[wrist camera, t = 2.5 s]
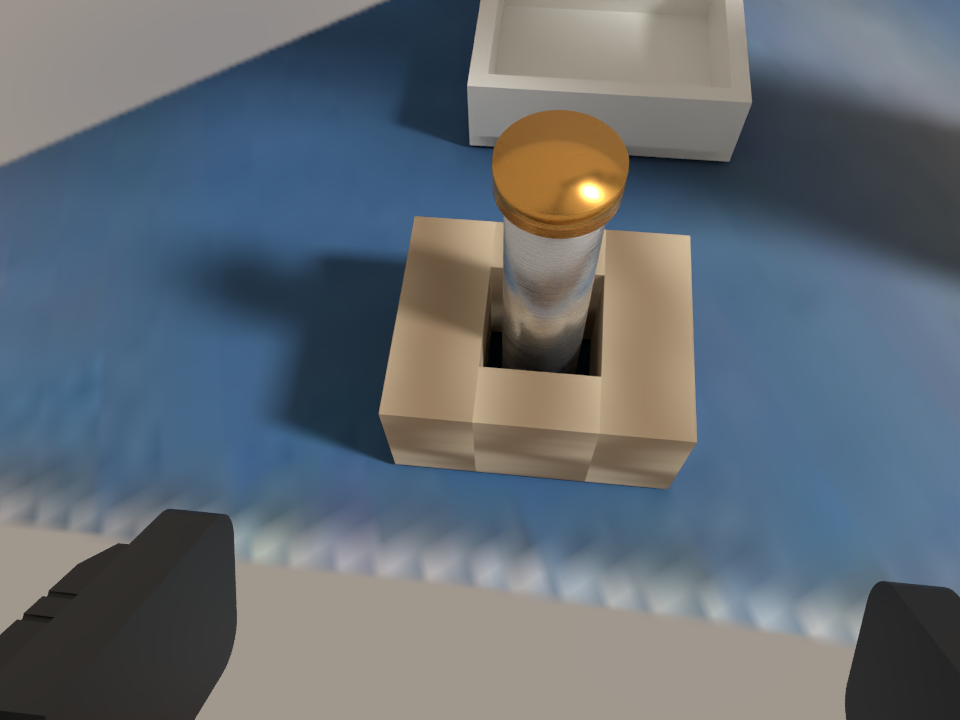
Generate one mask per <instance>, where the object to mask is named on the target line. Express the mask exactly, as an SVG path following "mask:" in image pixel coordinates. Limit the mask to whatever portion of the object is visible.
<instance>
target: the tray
mask: <svg viewBox="0 0 960 720" xmlns="http://www.w3.org/2000/svg"><path fill="white" fill-rule="evenodd" d="M467 94H468V117H469V140H470V145H477V146H493V147H495V145H496V142H497V140H498V139H499V137H500V136H501V134H502V133H503V132H504V131H505V130H506V129H507V128H508V127H509V126H510V125H512V124H513V123H514V122H516V121H518V120H519V119H521V118H523V117H526V116H528V115H530V114H534V113H537V112H542V111H548V110H568V111H575V112H580V113H584V114H587V115H590V116H592V117H594V118H597V119H599V120H600V121H602V122H604V123H605V124H607V125H608V126H610V127H611V128H612V129H613V130H614V131H615V132H616V133H617V134H618V135H619V137H620V138H621V139H622V141H623V143H624V144H625V147H626V149H627V152H628V155H633V156H649V157H665V158H680V159H696V160H711V161H727V162H730V159H731V156H732V154H733V151H734V149H735V146H736V143H737V141H738V138H739V136H740V133H741V130H742V128H743V125H744V123H745V120H746V117H747V115H748V112H749V110H750V107H751V104H752V95H751V84H750V73H749V62H748V51H747V40H746V29H745V18H744V7H743V0H481V2H480V8H479V14H478V21H477V27H476V33H475V40H474V46H473V52H472V58H471V65H470V71H469V77H468V84H467Z"/></svg>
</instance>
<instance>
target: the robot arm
mask: <svg viewBox="0 0 960 720" xmlns="http://www.w3.org/2000/svg"><path fill="white" fill-rule="evenodd" d="M236 626H237V610H236V581H235V554H234V531H233V525H232V522H231V519H230V518H229V516H228V515H226V514H218V513H208V512H198V511H188V510H178V509H167V510H165V511H163V512H162V513H161V514H160V515H159V516H158V517H157V518H156V519H155V520H154V521H153V522H152V523H151V524H150V525H148V526H147V527H146V528H145V529H144V530H143V531H142V532H141V533H140V534H139V535H138V536H137V537H136V538H135V539H134V540H133V541H132V542H131V543H130V544H120V543H118V544H116V545H114V546H112V547H110V548H109V549H106V550H105V551H103V552H101V553H99V554H97V555H95V556H93V557H91V558H89V559H87V560H85V561H83V562H81V563H79V564H78V565H76V566H75V567H74V568H73V569H72V570H71V571H70V572H69V573H68V574H67V575H65V576H64V577H63V578H62V579H61V580H60V581H59V582H58V583H57V584H56V585H55V586H53V587H52V588H51V589H50V590H49V593H48V596H47V597H44V596H43V597H41V598H40V599H39V600H38V601H37V602H36V603H35V604H34V605H33V606H31V607H30V608H29V609H28V610H27V611H26V612H25V613H24V616H23V619H22V620H16V621H15V622H14V623H13V624H12V625H11V626H9V628H7V629H6V630H5V631H4V632H3V633H2V634H1V635H0V720H195V718H196V716H197V715H198V713H199V711H200V710H201V708H202V706H203V705H204V703H205V701H206V700H207V698H208V696H209V695H210V693H211V691H212V690H213V688H214V687H215V685H216V683H217V682H218V680H219V678H220V677H221V675H222V673H223V671H224V670H225V668H226V666H227V663H228V661H229V658H230V655H231V652H232V648H233V644H234V640H235V634H236ZM845 712H846V720H960V597H959V596H958V595H957V594H956V593H955V592H954V591H952V590H951V589H949V588H945V587H937V586H927V585H917V584H906V583H896V582H886V581H881V582H878V583H877V584H876V585H874V587H873V588H872V590H871V592H870V594H869V597H868V600H867V604H866V608H865V612H864V616H863V620H862V625H861V629H860V633H859V637H858V641H857V645H856V649H855V653H854V658H853V662H852V666H851V670H850V674H849V678H848V682H847V687H846V695H845Z"/></svg>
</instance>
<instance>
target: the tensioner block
mask: <svg viewBox="0 0 960 720" xmlns="http://www.w3.org/2000/svg"><path fill="white" fill-rule="evenodd" d="M503 231H504V223H503V222H489V221H475V220H460V219H446V218H432V217H418V216H415V219H414V224H413V229H412V235H411V240H410V246H409V251H408V257H407V262H406V268H405V273H404V279H403V284H402V289H401V295H400V300H399V306H398V311H397V317H396V322H395V328H394V333H393V339H392V344H391V349H390V355H389V360H388V366H387V371H386V377H385V382H384V388H383V393H382V399H381V404H380V409H379V417H380V420H381V423H382V426H383V429H384V432H385V435H386V438H387V441H388V444H389V446H390V449H391V452H392V455H393V458H394V461H395V464H402V465H412V466H423V467H434V468H445V469H456V470H466V471H477V472H488V473H499V474H509V475H520V476H531V477H542V478H553V479H563V480H574V481H585V482H596V483H607V484H617V485H628V486H639V487H650V488H660V489H668V488H669V487H670V485H671V483H672V482H673V480H674V478H675V477H676V475H677V474H678V472H679V470H680V469H681V467H682V465H683V464H684V462H685V461H686V459H687V457H688V456H689V454H690V453H691V451H692V449H693V448H694V446H695V444H696V443H697V431H696V401H695V371H694V341H693V311H692V281H691V251H690V236H687V235H673V234H659V233H645V232H630V231H616V230H604V233H603V238H602V243H601V248H600V253H599V258H598V263H597V268H596V273H595V278H594V283H593V288H592V293H591V298H590V303H589V308H588V313H587V318H586V323H585V328H584V333H583V338H582V339H591V340H590V364H589V376H585V375H573V374H561V373H549V372H537V371H525V370H513V369H502V368H490V367H488V358H489V349H490V340H491V331H493V332H502V312H503Z"/></svg>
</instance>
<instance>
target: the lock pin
mask: <svg viewBox="0 0 960 720" xmlns="http://www.w3.org/2000/svg"><path fill="white" fill-rule="evenodd" d="M628 171H629V156H628V152H627V149H626V147H625V144H624V143H623V141H622V139H621V138H620V137H619V135H618V134H617V133H616V132H615V131H614V130H613V129H612V128H611V127H610V126H608V125H607V124H605V123H604V122H602V121H600V120H599V119H597V118H594V117H592V116H590V115H587V114H584V113H580V112H575V111H568V110H548V111H542V112H537V113H534V114H530V115H528V116H526V117H523V118H521V119H519V120H518V121H516V122H514V123H513V124H512V125H510V126H509V127H508V128H507V129H506V130H505V131H504V132H503V133H502V134H501V136H500V137H499V139H498V140H497V142H496V145H495V147H494V151H493V157H492V184H493V196H494V199H495V202H496V204H497V206H498V208H499V210H500V211H501V212H502V214H503V215H504V231H503V312H502V369H513V370H525V371H537V372H549V373H561V374H573V375H575V373H576V368H577V363H578V358H579V353H580V348H581V343H582V338H583V333H584V328H585V323H586V318H587V313H588V308H589V303H590V298H591V293H592V288H593V283H594V278H595V273H596V268H597V263H598V258H599V253H600V248H601V243H602V238H603V233H604V228H605V224H606V223H607V222H609V221H610V219H611V218H612V217H613V216H614V215H615V213H616V212H617V211H618V209H619V207H620V204H621V201H622V198H623V193H624V189H625V184H626V180H627V175H628Z"/></svg>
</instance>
